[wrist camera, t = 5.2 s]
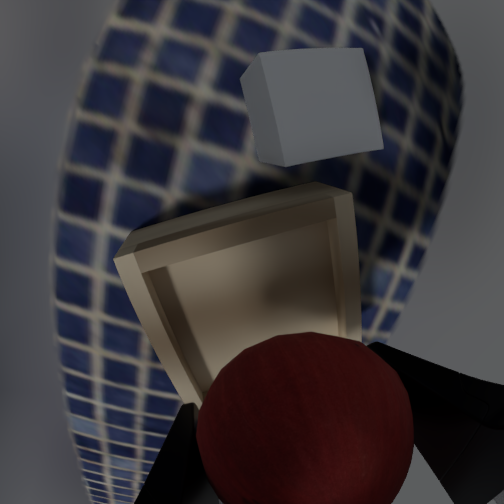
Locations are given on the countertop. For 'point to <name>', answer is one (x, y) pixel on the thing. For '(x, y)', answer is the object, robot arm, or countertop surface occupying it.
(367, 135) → the grey cube
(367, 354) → the red pomegranate
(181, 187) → the countertop surface
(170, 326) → the square tray
